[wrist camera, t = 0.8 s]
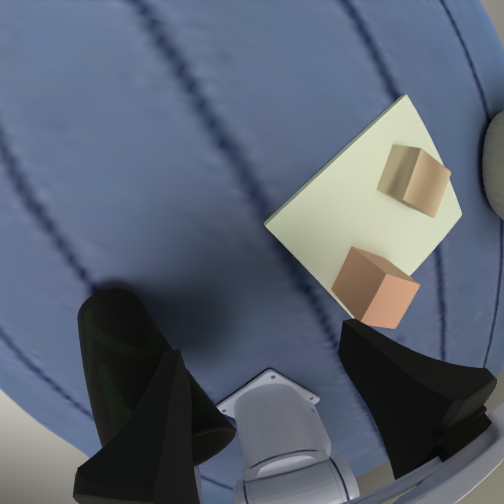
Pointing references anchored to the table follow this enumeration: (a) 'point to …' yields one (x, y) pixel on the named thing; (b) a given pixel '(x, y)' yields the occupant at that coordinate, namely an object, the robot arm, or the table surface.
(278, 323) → the table surface
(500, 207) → the canister
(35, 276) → the table surface
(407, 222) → the plate
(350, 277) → the terracotta brick
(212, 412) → the cup
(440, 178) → the beech brick
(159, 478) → the robot arm
